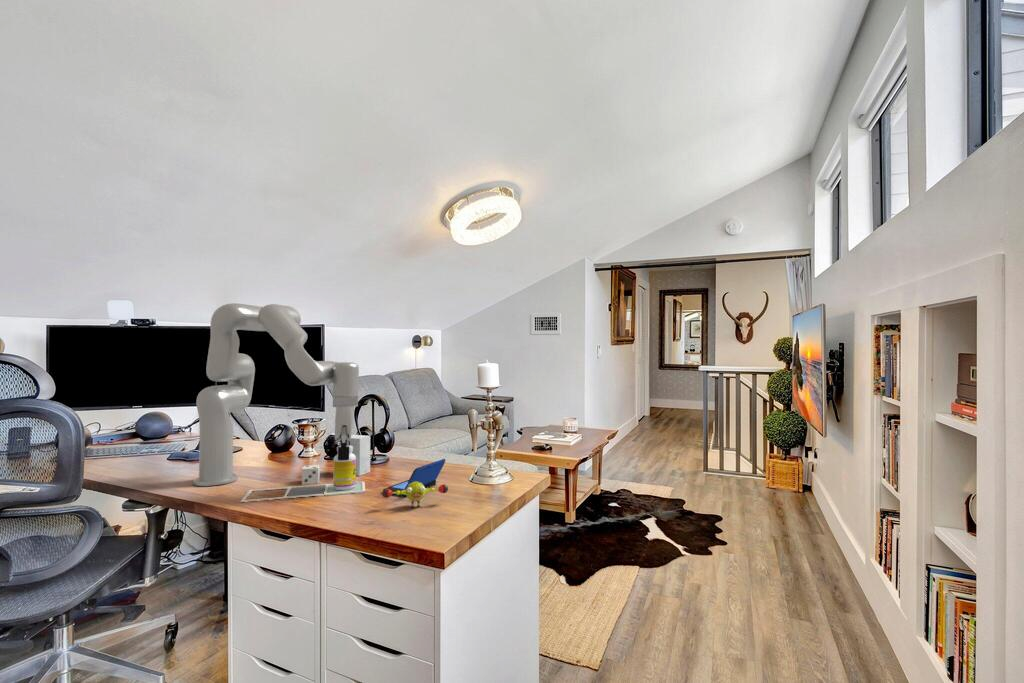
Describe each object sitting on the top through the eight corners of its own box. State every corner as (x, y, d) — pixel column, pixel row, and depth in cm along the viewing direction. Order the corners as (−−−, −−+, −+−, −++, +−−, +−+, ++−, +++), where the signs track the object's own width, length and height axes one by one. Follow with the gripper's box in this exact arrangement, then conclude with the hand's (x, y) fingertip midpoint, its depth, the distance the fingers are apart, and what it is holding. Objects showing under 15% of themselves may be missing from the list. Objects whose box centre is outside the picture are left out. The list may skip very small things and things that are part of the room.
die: (303, 481, 163) (303, 465, 163) (319, 479, 164) (319, 464, 164) (301, 484, 158) (301, 469, 158) (318, 483, 159) (318, 468, 159)
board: (249, 491, 150) (249, 490, 150) (364, 482, 160) (364, 481, 160) (240, 502, 138) (240, 501, 138) (365, 492, 148) (365, 490, 149)
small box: (370, 472, 174) (370, 435, 175) (359, 476, 168) (359, 438, 169) (351, 470, 177) (352, 434, 177) (340, 474, 171) (340, 437, 172)
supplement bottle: (356, 489, 151) (356, 447, 151) (333, 491, 148) (333, 449, 148) (354, 484, 157) (355, 444, 157) (332, 486, 154) (333, 445, 155)
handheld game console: (414, 482, 162) (414, 454, 162) (447, 487, 155) (447, 458, 156) (380, 494, 148) (380, 463, 148) (415, 500, 142) (415, 468, 142)
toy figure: (382, 512, 130) (382, 487, 130) (381, 506, 135) (381, 482, 135) (449, 506, 135) (449, 482, 135) (446, 501, 140) (446, 477, 140)
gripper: (334, 399, 160) (332, 451, 160) (331, 404, 144) (329, 463, 143) (357, 398, 162) (356, 450, 162) (357, 404, 146) (356, 462, 146)
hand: (343, 456), depth 153 cm, fingers open, 9 cm apart
